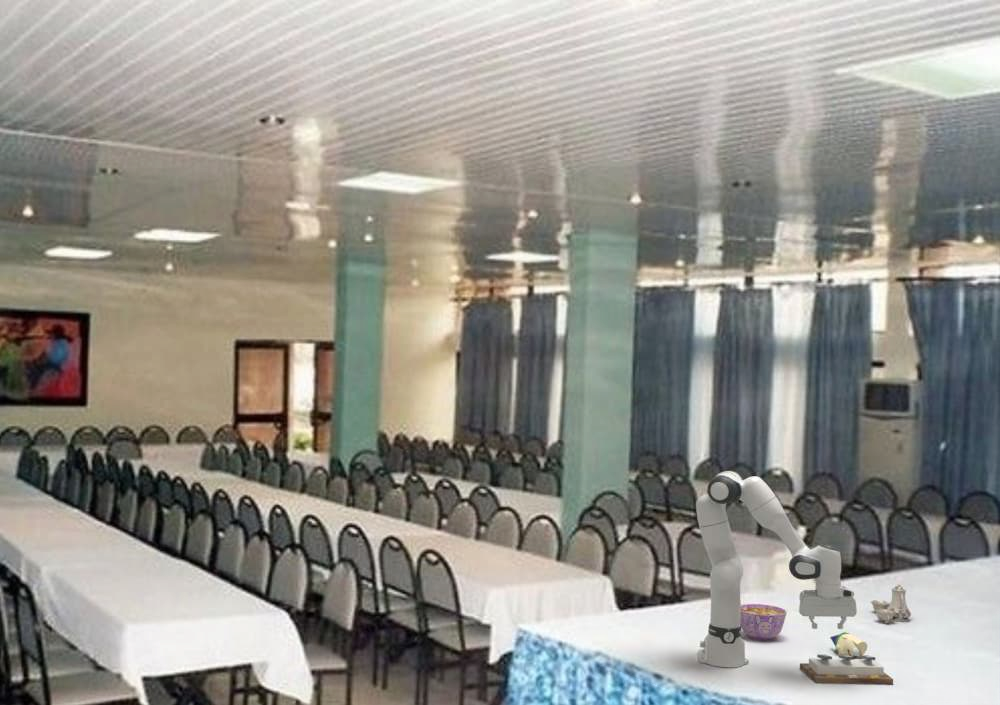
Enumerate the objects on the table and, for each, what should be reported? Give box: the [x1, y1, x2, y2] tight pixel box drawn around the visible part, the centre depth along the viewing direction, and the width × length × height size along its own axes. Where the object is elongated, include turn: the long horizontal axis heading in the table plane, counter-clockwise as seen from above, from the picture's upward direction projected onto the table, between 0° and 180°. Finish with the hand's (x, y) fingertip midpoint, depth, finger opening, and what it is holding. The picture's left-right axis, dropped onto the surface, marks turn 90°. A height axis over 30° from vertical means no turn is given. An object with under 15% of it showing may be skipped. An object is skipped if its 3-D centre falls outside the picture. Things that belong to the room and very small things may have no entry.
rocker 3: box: [859, 654, 876, 661], centre depth 407 cm, size 7×3×1 cm, turn 3°
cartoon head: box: [830, 631, 868, 657], centre depth 436 cm, size 9×10×20 cm
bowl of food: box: [740, 603, 787, 641], centre depth 459 cm, size 20×20×12 cm
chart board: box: [799, 662, 894, 686], centre depth 407 cm, size 18×28×2 cm, turn 93°
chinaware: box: [870, 583, 912, 624], centre depth 499 cm, size 28×17×17 cm, turn 172°
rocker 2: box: [838, 654, 855, 660], centre depth 407 cm, size 7×3×1 cm, turn 3°
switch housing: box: [808, 657, 884, 676], centre depth 407 cm, size 10×24×4 cm, turn 93°
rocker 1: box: [816, 653, 833, 659], centre depth 406 cm, size 7×3×1 cm, turn 3°
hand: (827, 628), depth 404 cm, fingers open, 8 cm apart
